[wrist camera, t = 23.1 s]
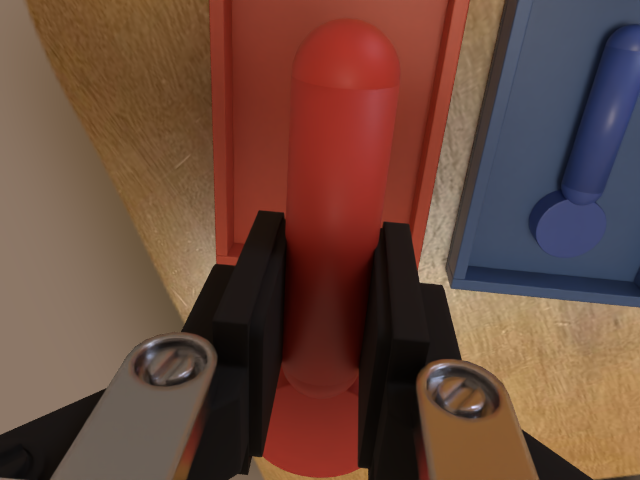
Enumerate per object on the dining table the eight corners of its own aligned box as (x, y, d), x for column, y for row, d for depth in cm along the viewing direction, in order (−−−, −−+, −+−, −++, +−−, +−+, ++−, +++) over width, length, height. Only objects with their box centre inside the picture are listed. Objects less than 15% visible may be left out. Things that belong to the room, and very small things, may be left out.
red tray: (219, -66, 21) (206, -68, 19) (469, -45, 21) (479, -46, 19) (224, 247, 28) (216, 265, 26) (411, 265, 28) (415, 285, 26)
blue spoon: (588, 18, 21) (606, 22, 20) (667, 25, 21) (692, 30, 19) (521, 243, 26) (531, 261, 25) (584, 249, 26) (599, 267, 25)
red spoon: (260, 6, 9) (237, 15, 7) (444, 20, 9) (463, 33, 7) (255, 432, 14) (242, 493, 12) (373, 445, 14) (375, 507, 12)
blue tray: (514, -41, 21) (527, -41, 19) (773, -20, 20) (809, -18, 19) (445, 269, 28) (450, 288, 26) (636, 288, 27) (654, 309, 26)
